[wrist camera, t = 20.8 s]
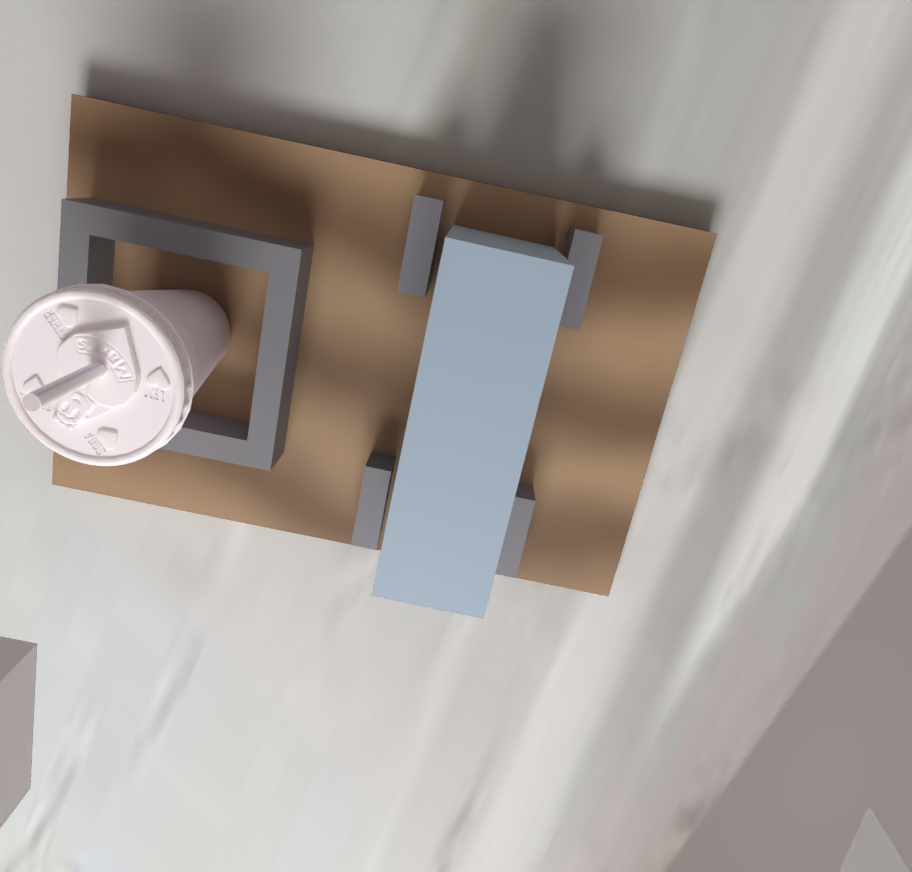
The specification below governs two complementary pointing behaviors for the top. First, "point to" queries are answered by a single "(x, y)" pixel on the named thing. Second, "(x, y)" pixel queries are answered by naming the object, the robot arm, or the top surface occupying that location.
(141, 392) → the smoothie
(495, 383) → the light blue rectangular block
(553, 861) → the top surface
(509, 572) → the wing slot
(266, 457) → the frame
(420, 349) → the jig board
